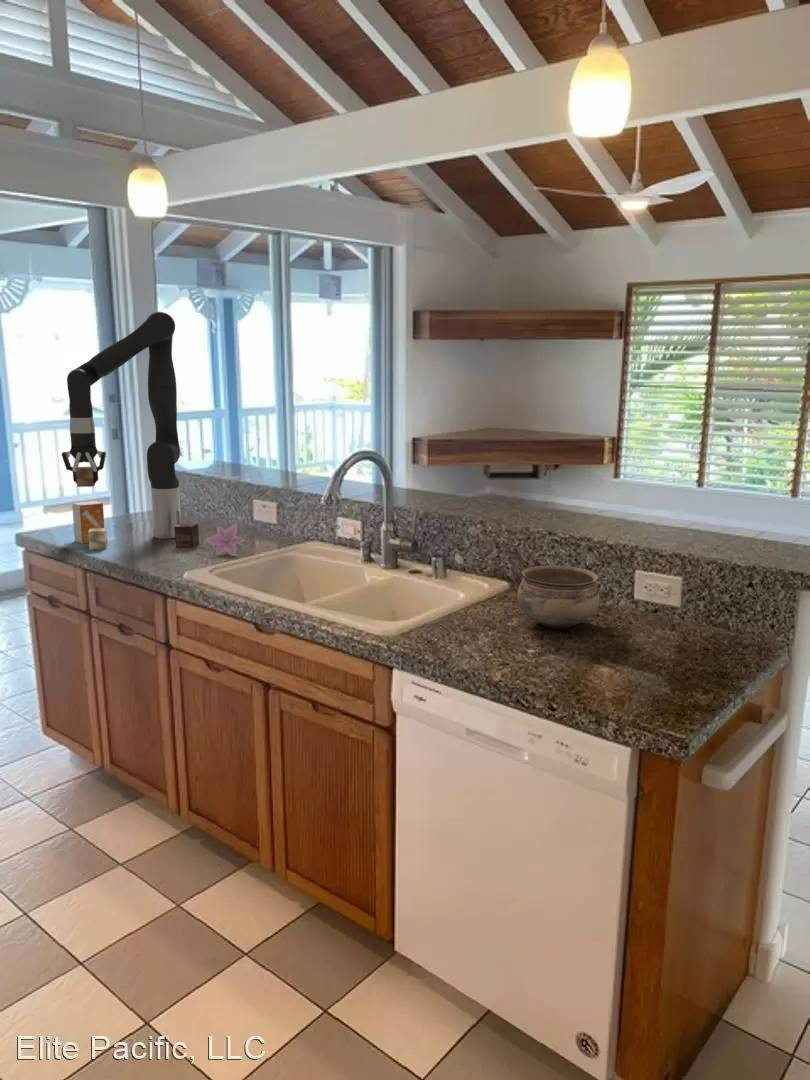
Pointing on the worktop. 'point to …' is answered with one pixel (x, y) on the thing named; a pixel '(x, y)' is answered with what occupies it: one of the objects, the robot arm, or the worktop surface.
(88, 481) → the walnut block
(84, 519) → the small box
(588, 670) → the worktop surface
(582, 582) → the cooking pot
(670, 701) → the worktop surface
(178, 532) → the box
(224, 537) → the lily
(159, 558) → the worktop surface
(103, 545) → the maple block
